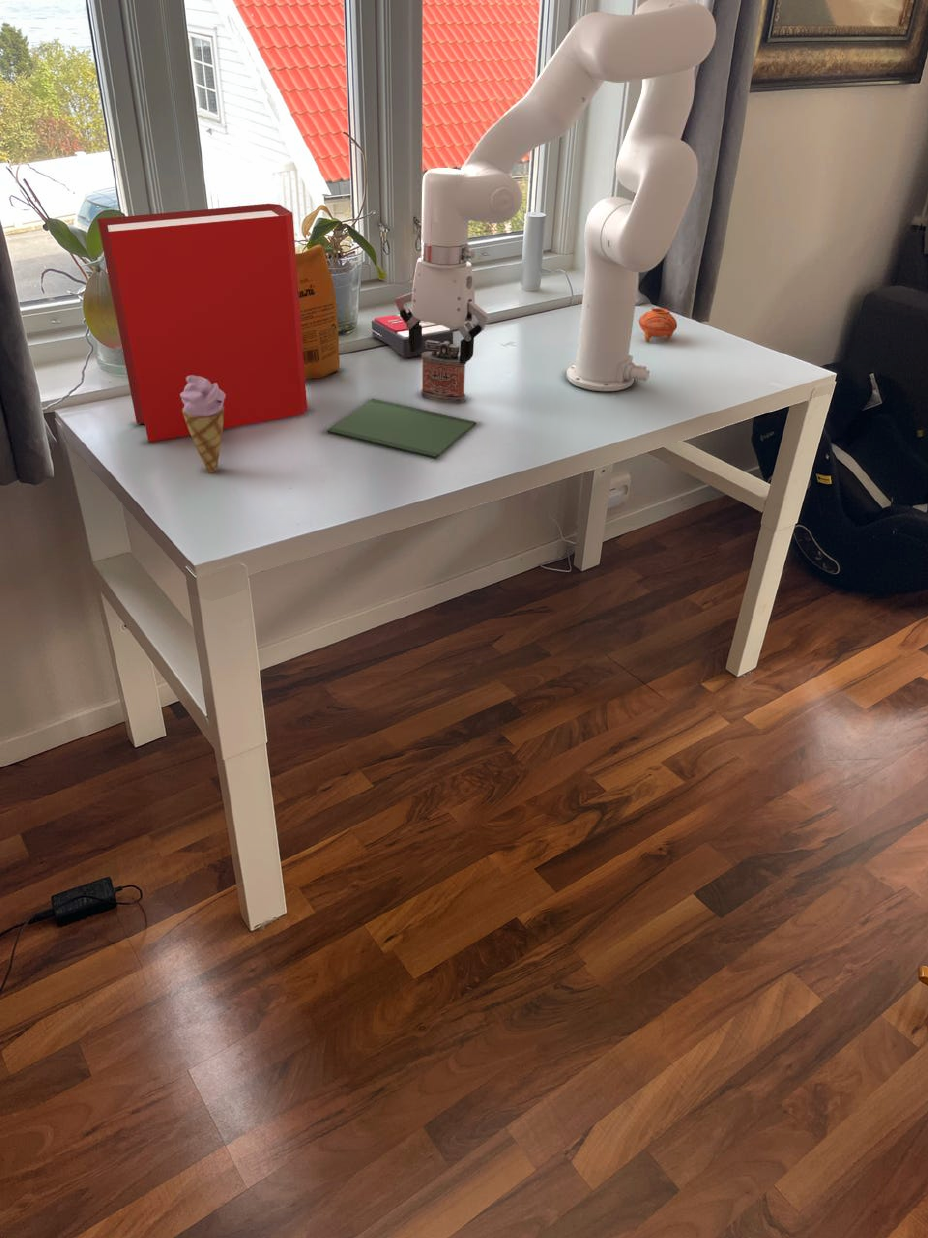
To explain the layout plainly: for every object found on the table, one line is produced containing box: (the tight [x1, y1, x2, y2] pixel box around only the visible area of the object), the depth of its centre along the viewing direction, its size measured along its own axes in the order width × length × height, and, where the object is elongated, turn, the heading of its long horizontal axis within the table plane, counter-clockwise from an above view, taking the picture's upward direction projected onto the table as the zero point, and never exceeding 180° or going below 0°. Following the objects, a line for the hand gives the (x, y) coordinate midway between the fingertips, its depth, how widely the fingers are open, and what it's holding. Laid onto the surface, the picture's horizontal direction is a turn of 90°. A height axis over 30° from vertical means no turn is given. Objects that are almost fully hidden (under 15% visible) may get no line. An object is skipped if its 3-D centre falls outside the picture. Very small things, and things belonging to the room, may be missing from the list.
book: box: [97, 203, 308, 444], centre depth 148 cm, size 27×8×32 cm, turn 118°
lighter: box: [420, 340, 467, 404], centre depth 164 cm, size 8×3×10 cm, turn 71°
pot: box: [638, 307, 678, 343], centre depth 193 cm, size 8×8×7 cm
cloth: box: [326, 398, 477, 460], centre depth 156 cm, size 20×15×1 cm
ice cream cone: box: [180, 375, 226, 474], centre depth 138 cm, size 7×6×15 cm
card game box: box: [371, 311, 454, 358], centre depth 188 cm, size 11×4×15 cm
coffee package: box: [295, 244, 341, 380], centre depth 169 cm, size 10×12×22 cm
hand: (440, 355), depth 163 cm, fingers open, 9 cm apart
